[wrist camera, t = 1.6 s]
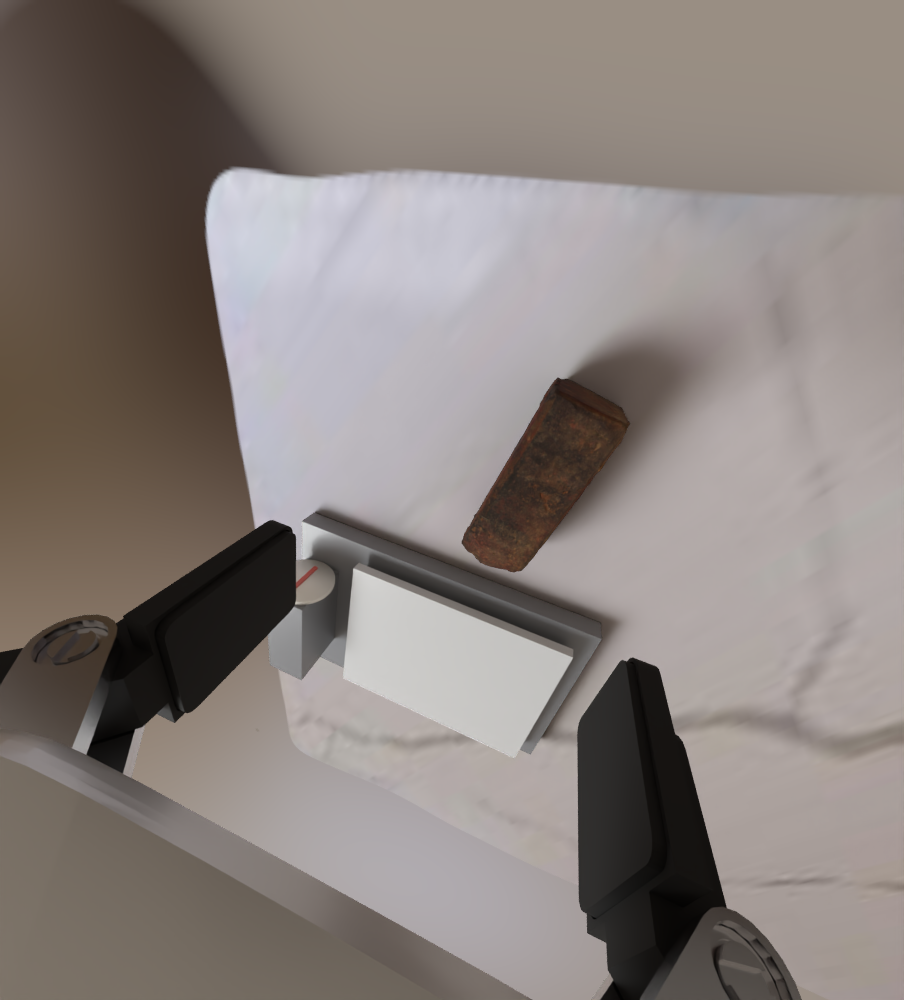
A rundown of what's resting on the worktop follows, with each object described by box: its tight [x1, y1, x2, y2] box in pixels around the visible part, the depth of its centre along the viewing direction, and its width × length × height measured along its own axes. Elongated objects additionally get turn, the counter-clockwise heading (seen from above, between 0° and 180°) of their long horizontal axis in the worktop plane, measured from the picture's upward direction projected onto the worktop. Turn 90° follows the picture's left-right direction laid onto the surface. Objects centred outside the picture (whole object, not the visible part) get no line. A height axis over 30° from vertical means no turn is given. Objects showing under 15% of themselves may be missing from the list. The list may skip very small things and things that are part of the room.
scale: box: [268, 513, 602, 758], centre depth 28 cm, size 23×15×6 cm, turn 77°
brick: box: [462, 378, 630, 572], centre depth 20 cm, size 11×4×5 cm, turn 155°
